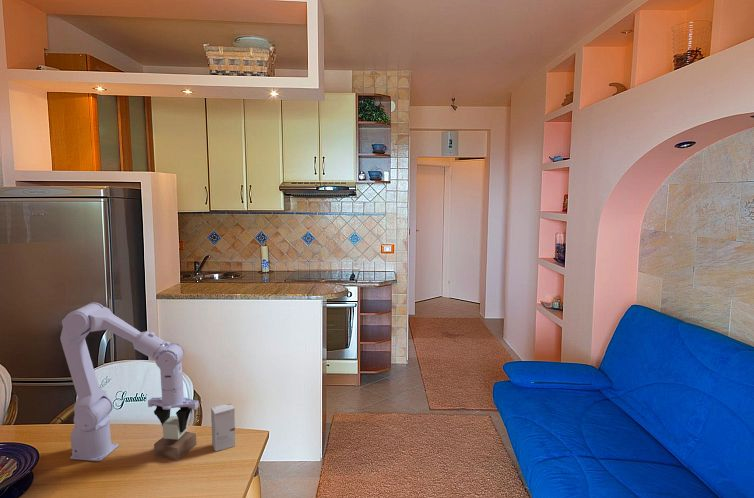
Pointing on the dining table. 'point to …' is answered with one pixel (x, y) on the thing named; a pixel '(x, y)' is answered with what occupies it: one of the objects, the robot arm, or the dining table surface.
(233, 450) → the dining table surface
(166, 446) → the walnut block
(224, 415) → the skincare box
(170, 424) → the sage cube
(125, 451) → the dining table surface
